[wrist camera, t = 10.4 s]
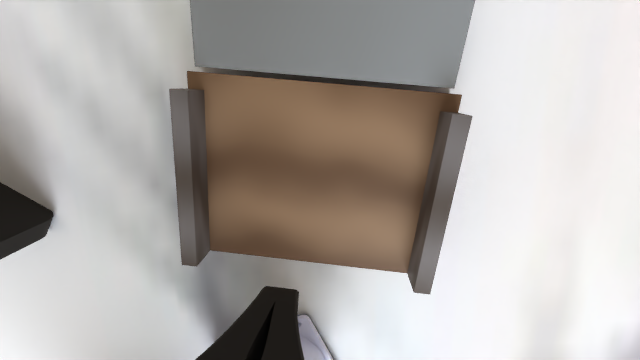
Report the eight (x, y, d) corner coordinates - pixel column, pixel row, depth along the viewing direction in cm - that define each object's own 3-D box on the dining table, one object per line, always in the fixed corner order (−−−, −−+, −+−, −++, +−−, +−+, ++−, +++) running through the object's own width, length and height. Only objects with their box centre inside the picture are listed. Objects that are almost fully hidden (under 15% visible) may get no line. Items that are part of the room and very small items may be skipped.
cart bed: (415, 258, 22) (429, 294, 18) (208, 235, 23) (181, 264, 19) (449, 94, 19) (477, 95, 15) (202, 72, 19) (167, 69, 15)
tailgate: (454, 88, 17) (478, -16, 15) (194, 66, 17) (187, -36, 15) (447, 86, 18) (469, -11, 16) (204, 66, 18) (197, -30, 17)
